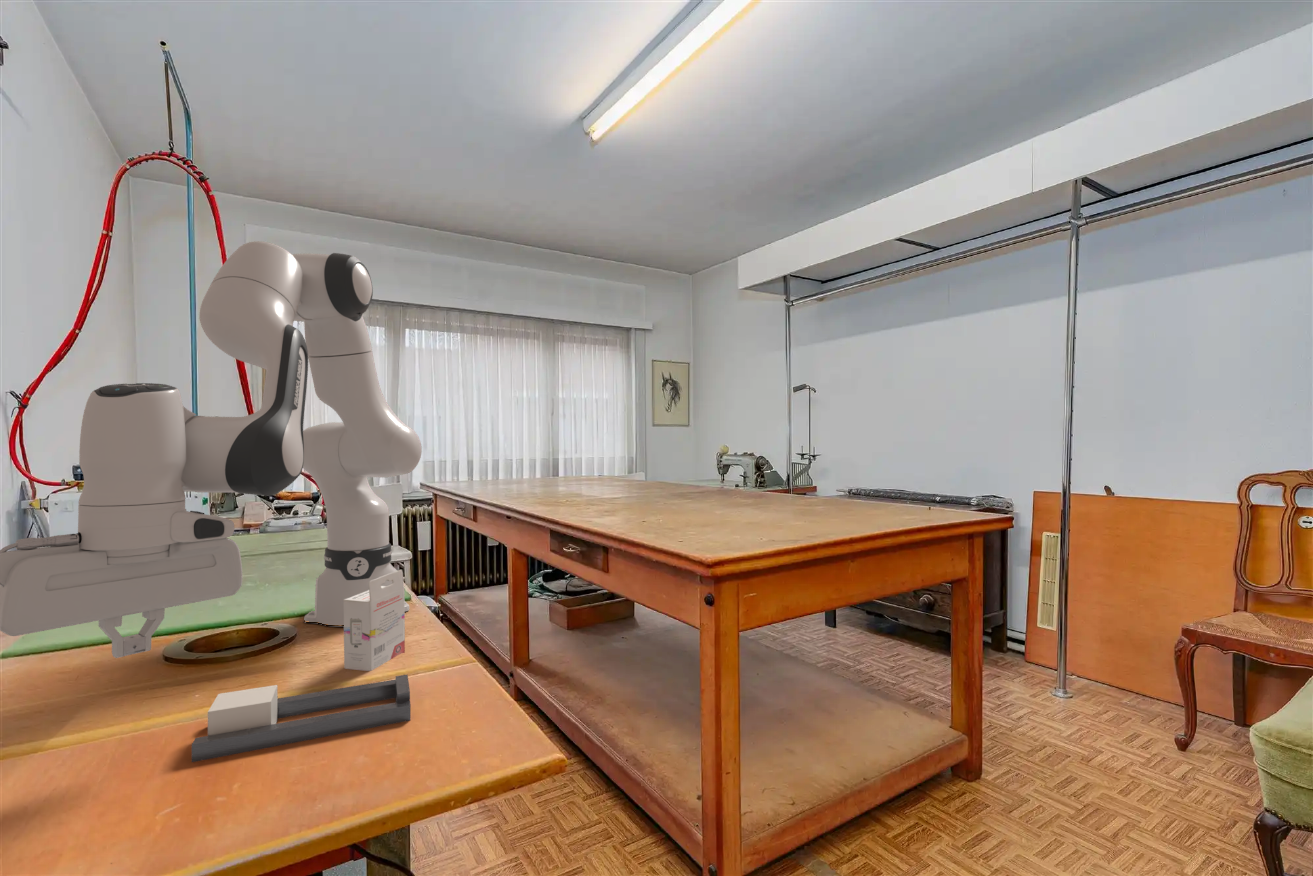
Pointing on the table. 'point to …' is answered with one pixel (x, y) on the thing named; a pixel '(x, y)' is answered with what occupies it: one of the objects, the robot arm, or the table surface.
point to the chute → (315, 718)
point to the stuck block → (243, 710)
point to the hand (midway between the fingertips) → (131, 653)
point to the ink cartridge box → (375, 624)
